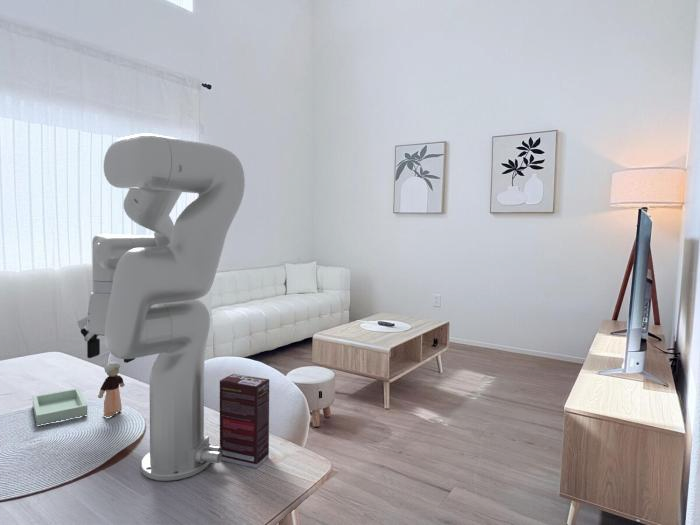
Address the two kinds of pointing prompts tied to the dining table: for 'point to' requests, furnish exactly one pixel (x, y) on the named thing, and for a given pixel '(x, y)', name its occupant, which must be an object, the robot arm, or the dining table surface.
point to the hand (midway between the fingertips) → (111, 358)
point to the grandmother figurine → (112, 389)
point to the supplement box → (244, 420)
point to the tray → (59, 406)
